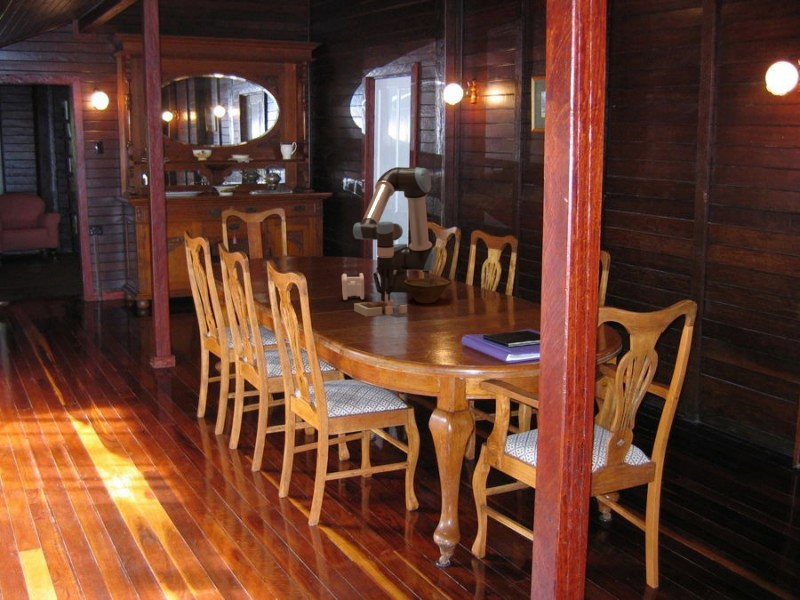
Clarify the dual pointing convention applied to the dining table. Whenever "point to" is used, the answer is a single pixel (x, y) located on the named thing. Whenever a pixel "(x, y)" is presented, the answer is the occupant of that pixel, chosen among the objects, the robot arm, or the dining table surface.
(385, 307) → the channel
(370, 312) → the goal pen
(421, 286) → the bowl
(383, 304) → the block
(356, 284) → the cable organizer
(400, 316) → the mat
